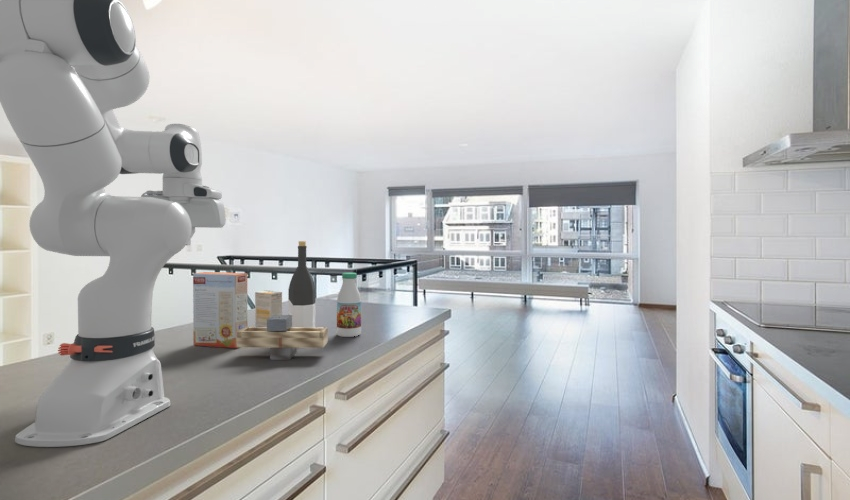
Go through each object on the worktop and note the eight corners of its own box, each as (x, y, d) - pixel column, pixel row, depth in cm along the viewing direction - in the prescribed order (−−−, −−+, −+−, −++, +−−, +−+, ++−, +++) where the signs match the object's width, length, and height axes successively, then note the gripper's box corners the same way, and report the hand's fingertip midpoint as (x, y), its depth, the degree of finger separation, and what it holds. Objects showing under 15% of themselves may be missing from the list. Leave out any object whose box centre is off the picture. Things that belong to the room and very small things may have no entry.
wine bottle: (317, 339, 134) (317, 241, 132) (289, 341, 131) (289, 241, 129) (313, 333, 141) (313, 241, 140) (287, 335, 138) (287, 240, 137)
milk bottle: (334, 333, 142) (334, 272, 141) (357, 331, 146) (357, 271, 145) (340, 338, 135) (340, 274, 134) (364, 336, 139) (364, 273, 138)
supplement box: (283, 331, 144) (283, 291, 144) (271, 334, 140) (270, 293, 140) (266, 328, 149) (266, 289, 148) (254, 330, 144) (254, 291, 144)
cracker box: (248, 344, 127) (248, 272, 126) (235, 349, 121) (234, 274, 121) (207, 340, 131) (207, 270, 130) (192, 345, 125) (192, 272, 124)
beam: (327, 352, 120) (328, 326, 120) (322, 359, 113) (323, 332, 113) (246, 352, 119) (246, 326, 119) (236, 359, 112) (236, 332, 112)
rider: (292, 332, 119) (292, 315, 118) (286, 337, 113) (286, 319, 113) (273, 331, 118) (273, 315, 118) (266, 336, 113) (266, 319, 113)
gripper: (133, 189, 108) (133, 245, 108) (217, 190, 108) (217, 246, 109) (148, 191, 114) (148, 244, 115) (228, 192, 115) (228, 245, 115)
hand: (183, 245), depth 112 cm, fingers closed
